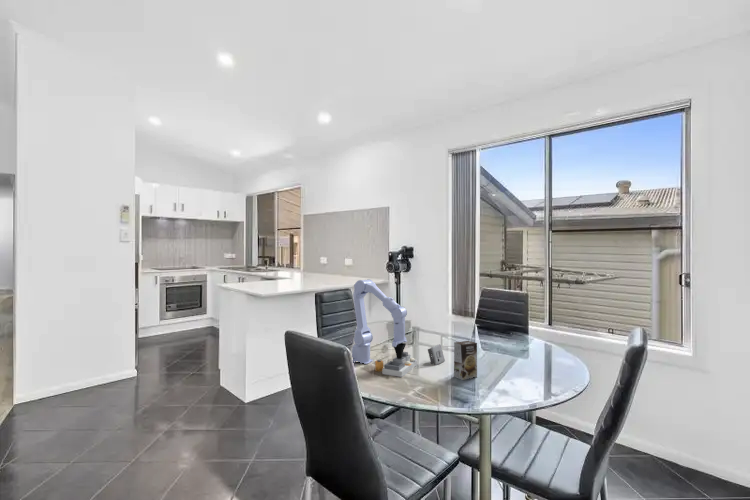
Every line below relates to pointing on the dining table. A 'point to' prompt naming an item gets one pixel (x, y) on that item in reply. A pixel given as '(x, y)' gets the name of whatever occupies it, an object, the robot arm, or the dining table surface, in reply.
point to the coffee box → (465, 359)
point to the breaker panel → (399, 366)
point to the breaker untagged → (405, 354)
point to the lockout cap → (378, 365)
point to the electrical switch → (436, 354)
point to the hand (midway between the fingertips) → (399, 358)
